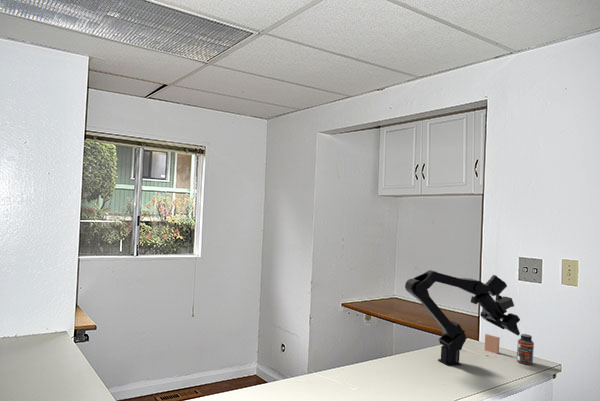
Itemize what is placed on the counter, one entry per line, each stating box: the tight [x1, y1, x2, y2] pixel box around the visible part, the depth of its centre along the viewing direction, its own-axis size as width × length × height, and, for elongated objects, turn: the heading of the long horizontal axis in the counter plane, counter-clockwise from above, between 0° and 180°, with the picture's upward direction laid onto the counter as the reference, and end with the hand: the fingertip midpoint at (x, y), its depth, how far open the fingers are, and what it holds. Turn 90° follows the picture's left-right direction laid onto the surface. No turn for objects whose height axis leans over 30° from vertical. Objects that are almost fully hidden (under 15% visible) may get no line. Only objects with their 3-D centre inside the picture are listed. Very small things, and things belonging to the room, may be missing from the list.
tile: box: [484, 333, 501, 355], centre depth 199 cm, size 1×6×7 cm, turn 37°
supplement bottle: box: [516, 333, 535, 366], centre depth 186 cm, size 6×6×11 cm
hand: (511, 331), depth 185 cm, fingers open, 9 cm apart
